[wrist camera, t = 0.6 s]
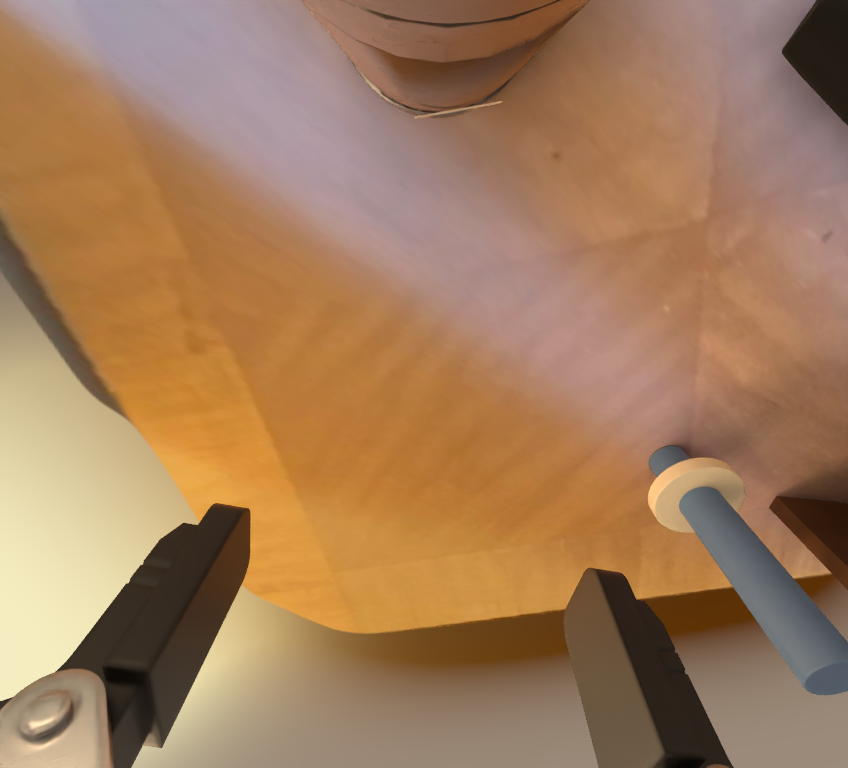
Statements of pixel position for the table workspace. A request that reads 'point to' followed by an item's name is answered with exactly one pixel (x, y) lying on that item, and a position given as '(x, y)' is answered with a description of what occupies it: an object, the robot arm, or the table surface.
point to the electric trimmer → (823, 53)
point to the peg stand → (819, 530)
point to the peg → (748, 564)
